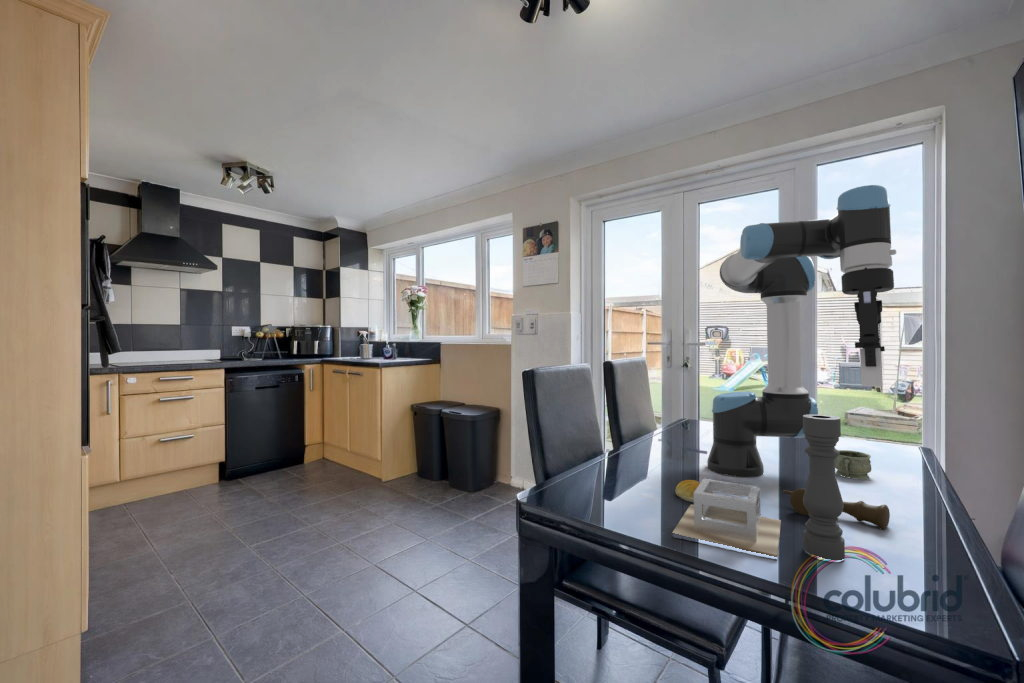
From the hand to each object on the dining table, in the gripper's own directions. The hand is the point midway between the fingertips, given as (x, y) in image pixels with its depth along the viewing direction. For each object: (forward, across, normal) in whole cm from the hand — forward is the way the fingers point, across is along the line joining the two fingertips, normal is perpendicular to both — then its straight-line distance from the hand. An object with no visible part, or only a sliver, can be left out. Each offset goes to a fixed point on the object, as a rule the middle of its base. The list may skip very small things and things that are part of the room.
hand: (872, 386), depth 80 cm
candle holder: (+31, -4, +8) cm, 32 cm away
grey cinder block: (+30, -4, +24) cm, 39 cm away
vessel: (+27, +58, +7) cm, 64 cm away
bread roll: (+29, +13, +36) cm, 48 cm away
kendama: (+29, +19, +9) cm, 36 cm away
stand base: (+30, -4, +24) cm, 39 cm away
